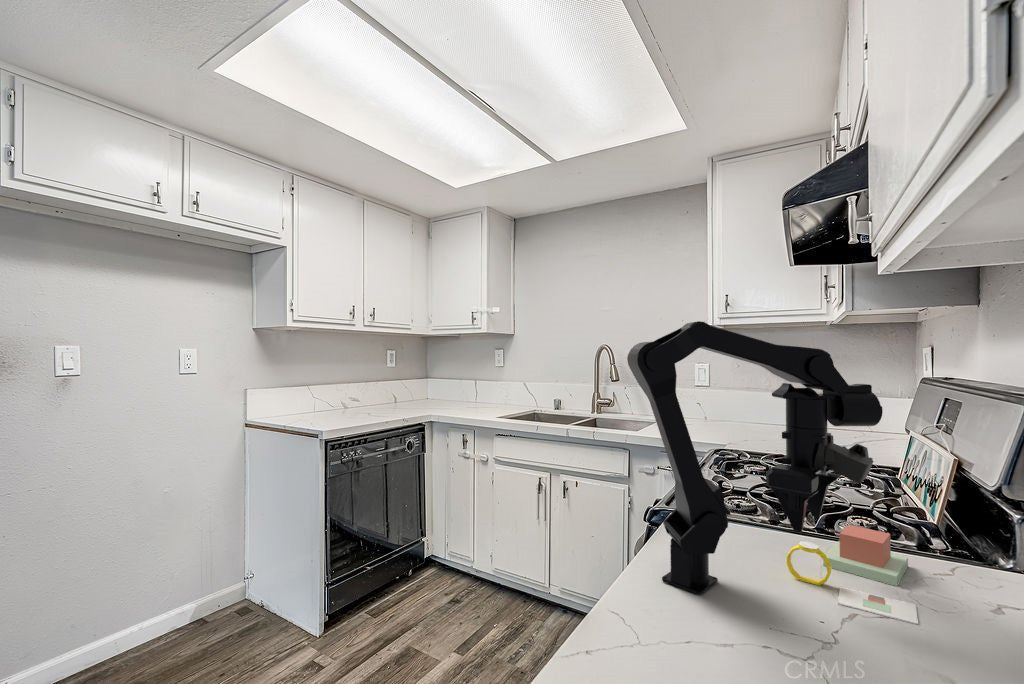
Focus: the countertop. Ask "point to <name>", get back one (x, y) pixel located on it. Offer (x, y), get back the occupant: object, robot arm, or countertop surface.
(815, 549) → the watch
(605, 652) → the countertop surface
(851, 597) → the page
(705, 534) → the robot arm
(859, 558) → the brick
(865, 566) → the baseplate
